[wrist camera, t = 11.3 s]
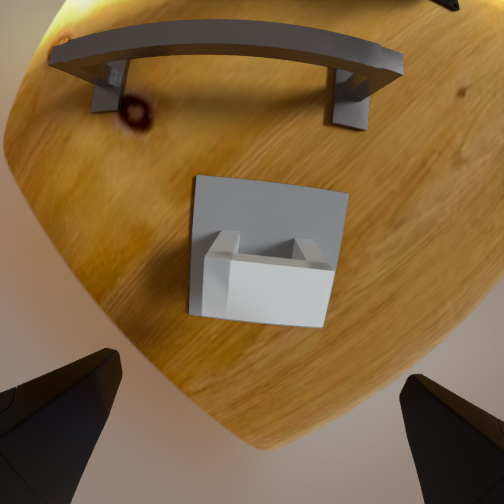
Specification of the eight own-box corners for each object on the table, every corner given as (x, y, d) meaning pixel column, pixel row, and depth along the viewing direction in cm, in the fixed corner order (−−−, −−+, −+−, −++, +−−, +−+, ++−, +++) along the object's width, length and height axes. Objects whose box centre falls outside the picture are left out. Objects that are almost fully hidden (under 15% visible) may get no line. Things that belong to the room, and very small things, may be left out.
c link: (305, 281, 20) (322, 327, 14) (218, 272, 20) (201, 315, 14) (312, 240, 19) (334, 271, 13) (221, 230, 19) (204, 257, 13)
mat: (347, 193, 18) (348, 193, 18) (321, 325, 21) (322, 328, 21) (198, 175, 18) (196, 175, 18) (190, 312, 21) (189, 314, 21)
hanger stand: (367, 67, 16) (411, 28, 9) (363, 130, 17) (413, 114, 10) (105, 54, 16) (54, 23, 9) (94, 113, 17) (34, 98, 10)
